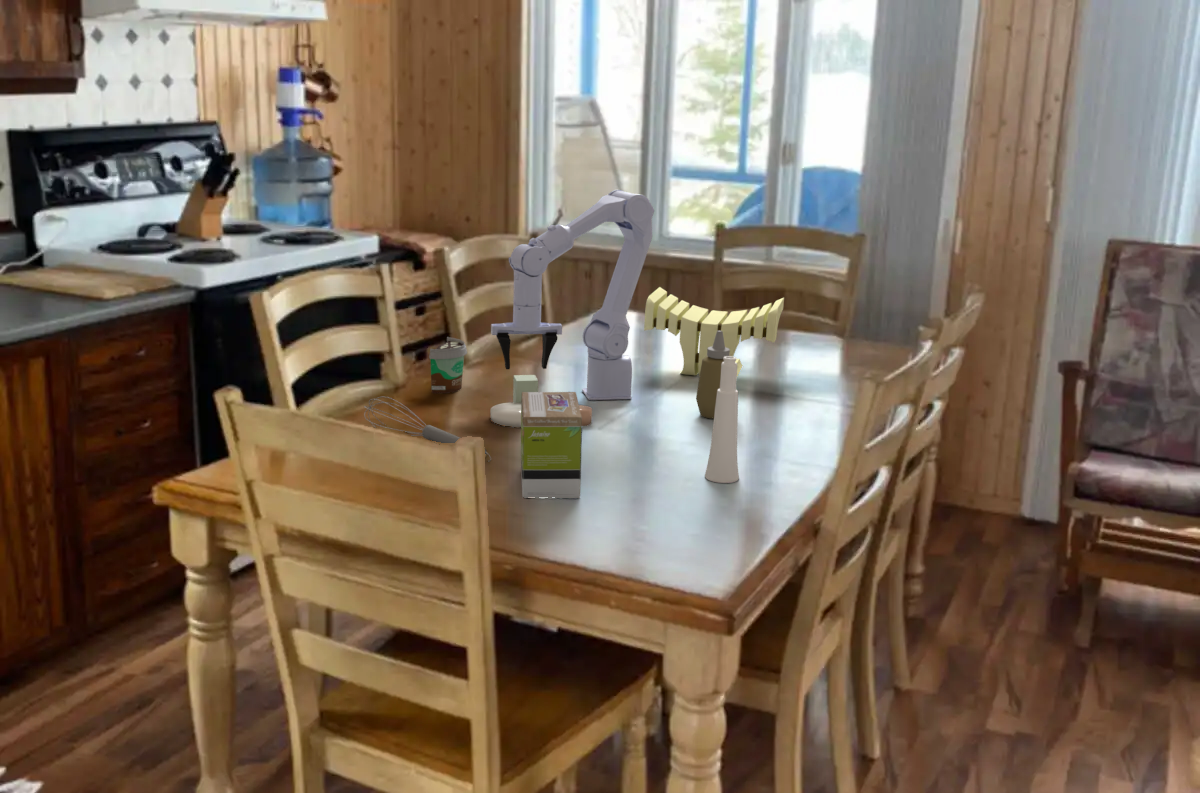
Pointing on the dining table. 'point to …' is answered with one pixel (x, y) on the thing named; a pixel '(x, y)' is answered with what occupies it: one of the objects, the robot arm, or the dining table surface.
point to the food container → (447, 366)
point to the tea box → (551, 445)
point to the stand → (507, 414)
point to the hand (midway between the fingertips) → (525, 368)
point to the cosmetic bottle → (725, 428)
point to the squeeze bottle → (711, 376)
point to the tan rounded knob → (586, 415)
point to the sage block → (524, 385)
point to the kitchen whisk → (428, 430)
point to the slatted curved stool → (708, 326)
